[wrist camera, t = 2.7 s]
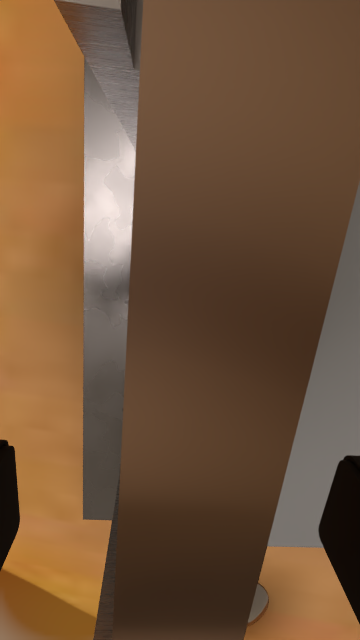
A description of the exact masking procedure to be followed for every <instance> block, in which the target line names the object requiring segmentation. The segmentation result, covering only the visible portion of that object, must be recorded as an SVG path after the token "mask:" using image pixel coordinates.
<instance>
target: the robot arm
mask: <svg viewBox="0 0 360 640" xmlns="http://www.w3.org/2000/svg"><path fill="white" fill-rule="evenodd" d="M19 522H20V514H19V501H18V488H17V475H16V462H15V450H14V447H13V446H9V445H8V442H7V440H0V571H1V568H2V566H3V564H4V561H5V559H6V557H7V555H8V552H9V550H10V548H11V545H12V543H13V541H14V539H15V536H16V534H17V531H18V528H19ZM318 532H319V537H320V540H321V543H322V545H323V547H324V549H325V551H326V553H327V555H328V558H329V560H330V562H331V564H332V566H333V568H334V570H335V573H336V575H337V577H338V579H339V581H340V583H341V585H342V587H343V590H344V592H345V594H346V596H347V598H348V600H349V602H350V605H351V607H352V609H353V611H354V613H355V615H356V617H357V619H358V622H359V624H360V456H354V455H347V456H345V457H344V459H343V460H341V461H339V463H338V466H337V469H336V472H335V475H334V479H333V482H332V485H331V488H330V491H329V495H328V498H327V501H326V504H325V508H324V511H323V514H322V517H321V520H320V524H319V528H318Z"/></svg>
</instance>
